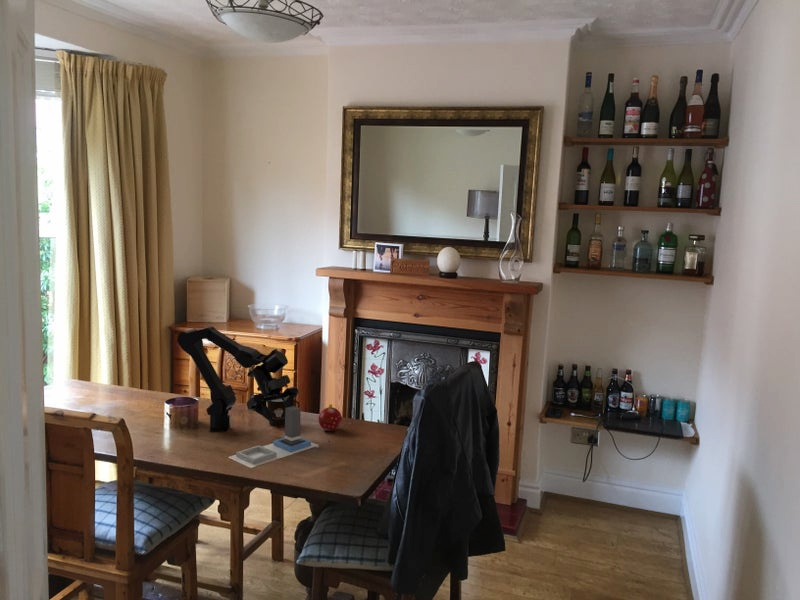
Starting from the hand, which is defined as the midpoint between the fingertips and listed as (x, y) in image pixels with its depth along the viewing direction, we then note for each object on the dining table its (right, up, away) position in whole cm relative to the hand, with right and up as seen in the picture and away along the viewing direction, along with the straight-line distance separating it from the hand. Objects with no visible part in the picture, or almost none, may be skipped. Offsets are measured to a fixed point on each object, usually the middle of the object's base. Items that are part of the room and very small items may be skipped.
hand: (283, 418), depth 215 cm
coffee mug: (-5, -6, +22) cm, 23 cm away
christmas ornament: (+14, -8, +17) cm, 24 cm away
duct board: (-1, -10, -8) cm, 13 cm away
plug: (+4, -9, -2) cm, 10 cm away
